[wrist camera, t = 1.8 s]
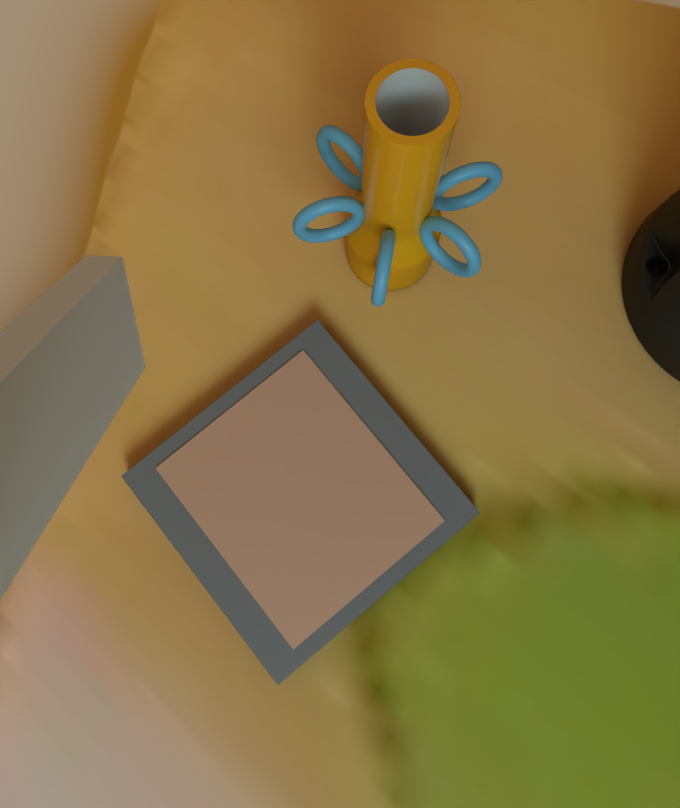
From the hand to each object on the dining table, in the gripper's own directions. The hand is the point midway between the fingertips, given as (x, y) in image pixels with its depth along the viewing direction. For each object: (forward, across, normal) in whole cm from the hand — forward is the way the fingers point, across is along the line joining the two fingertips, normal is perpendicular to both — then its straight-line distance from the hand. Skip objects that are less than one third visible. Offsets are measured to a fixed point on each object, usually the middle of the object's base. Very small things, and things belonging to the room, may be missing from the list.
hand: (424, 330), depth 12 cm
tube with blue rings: (+26, 0, -8) cm, 28 cm away
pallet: (+14, -5, -20) cm, 25 cm away
